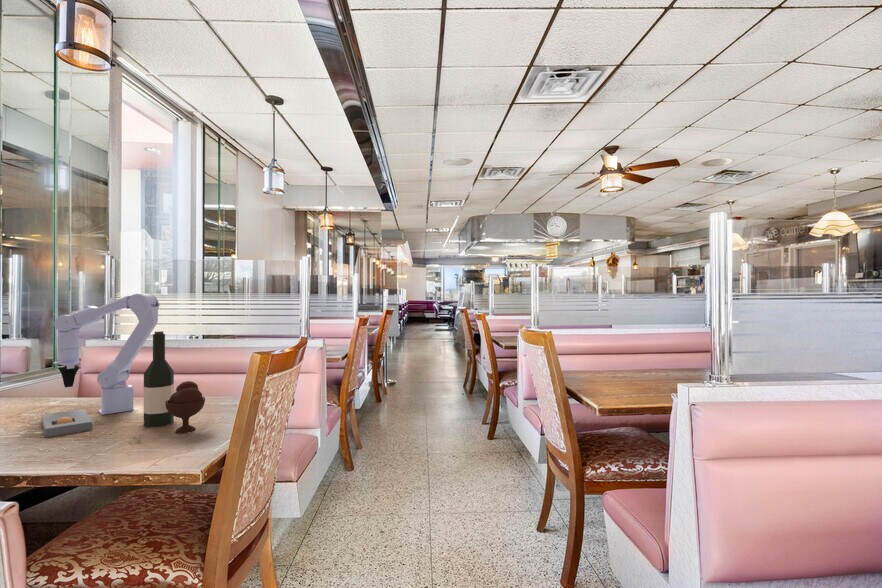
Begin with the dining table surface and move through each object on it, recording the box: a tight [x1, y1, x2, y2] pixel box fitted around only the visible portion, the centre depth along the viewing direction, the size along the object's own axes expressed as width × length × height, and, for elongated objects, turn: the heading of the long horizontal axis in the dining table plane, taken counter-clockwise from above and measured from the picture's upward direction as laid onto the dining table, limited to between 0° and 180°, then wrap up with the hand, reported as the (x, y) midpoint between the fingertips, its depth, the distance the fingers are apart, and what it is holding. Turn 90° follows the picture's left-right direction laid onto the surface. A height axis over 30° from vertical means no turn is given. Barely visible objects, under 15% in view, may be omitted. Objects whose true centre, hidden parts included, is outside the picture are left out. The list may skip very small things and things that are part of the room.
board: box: [41, 408, 93, 438], centre depth 144 cm, size 11×22×2 cm, turn 44°
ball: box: [56, 417, 73, 424], centre depth 140 cm, size 4×4×4 cm
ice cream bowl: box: [165, 380, 206, 434], centre depth 138 cm, size 11×11×15 cm
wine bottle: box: [143, 330, 175, 428], centre depth 146 cm, size 8×8×30 cm
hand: (68, 386), depth 160 cm, fingers closed
